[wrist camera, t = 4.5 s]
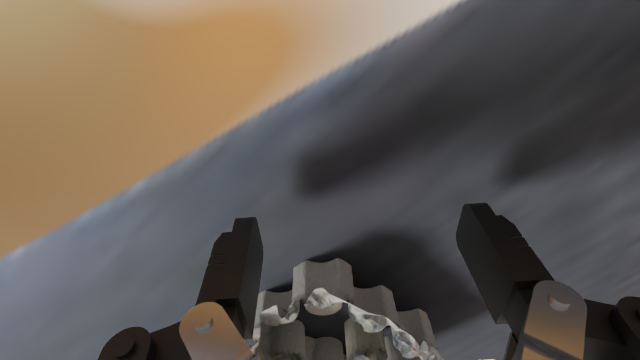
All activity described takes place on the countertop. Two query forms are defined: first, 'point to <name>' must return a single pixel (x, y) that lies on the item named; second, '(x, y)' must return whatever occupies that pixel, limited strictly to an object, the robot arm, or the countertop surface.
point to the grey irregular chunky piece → (360, 329)
